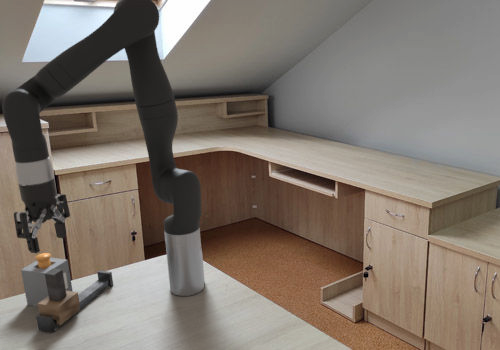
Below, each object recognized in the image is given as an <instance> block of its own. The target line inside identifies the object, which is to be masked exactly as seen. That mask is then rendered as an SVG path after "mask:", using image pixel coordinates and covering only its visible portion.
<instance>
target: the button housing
mask: <svg viewBox="0 0 500 350" xmlns="http://www.w3.org/2000/svg"><path fill="white" fill-rule="evenodd" d="M50 262H51V266H49V267H48V268H46V269H42V268H39V267H38V261H37V260H35V261H33V262H31V263H30V264H29V265H27V266H25V267H23V268H21V269H20V273H21V277H22V284H23V289H24V293H25V298H26V304H27V306H32V307H33V306H34V307H38V303H39V302H41V301H42V300H44V299H45V298H46V297H48V296H49V295H48V290H47V284H46V279H45V273H46V272H48V271H50V270H51V269H53V268H54V269H62V270H63V276H64V282H65V288H66V291H72V292H74V291H73V286H72V279H71V273H70V266H69V261H68V259H66V258H65V259H64V258H56V257H50Z"/></svg>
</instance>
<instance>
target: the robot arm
mask: <svg viewBox="0 0 500 350" xmlns="http://www.w3.org/2000/svg"><path fill="white" fill-rule="evenodd" d="M159 23H160V12H159V9H158V7H157V4H156V3H155V2H154V1H153V0H118V1H117V3H116V4H115V6H114V8H113V13H112V14H111V15H110V16H109V17H108V18H107V19H106V20H105V21H104V22H103V23H102V24H101V25H100V26H99V27H97V29H95V30H94V31H92V32H91V33H90V34H88V35H87V36H86V37H84V38H83V39H81V40H79V41H77V42H76V43H74V44H73V45H71V46H70V47H68V48H67V49H65V50H63V51H62V52H61V53H59V54H58V55H57V56H55V57H54V58H52V59H51V61H49V62H48V63H47V64H45V65H44V66H43V67H42V68H40V69H39V70H38V71H37V73H36V74H35V75H34V76H32V77H31V78H29V79H28V80H26V81H25V82H23V83H22V84H21V85H19V86H18V87H16V88H15V89H14V90H12V91H10V92H8V93H7V94H6V95H5V97H4V98H3V99H2V104H1V105H2V107H1V108H2V109H1V110H2V115H3V118H4V122H5V125H6V128H7V132H8V134H9V137H10V140H11V146H12V152H13V157H14V162H15V173H16V177H17V179H16V180H17V183H18V184H17V185H18V189H19V194H20V197H21V198H20V200H21V201H22V202H23V204H24V205H25V206H24V207H25V208H24V210H23V211H15V212H14V213H13V220H14V226H15V233H16V237H17V239H22V240H23V239H25V240H26V244H27V249H28V250H27V251H28V252H30V253H32V254H38V253H40V252H41V250H40V244H39V240H38V237H37V234H38V231H39V229H41V228H42V225H43V224H44V223H45V222H47V221H51V220H52V221H53V222H54V224H53V225H54V230H55V235H56V238H58V239H65V238H66V237H67V236H66V234H67V231H66V225H65V222H66V220H67V219H68V218H70V217H71V213H70V209H69V203H68V199H67V196H66V194H63V193H62V194H61V193H58V191H57V186H56V181H55V175H54V169H53V165H52V162H51V161H52V160H51V159H50V154H49V153H50V152H49V149H48V148H49V147H48V142H47V139H46V136H45V134H44V133H43V128H42V122H41V121H42V120H41V117H40V113H42V112H43V111H44V110H45V109H46V108H47V107H49V106H50V105H51V104H52V103H53V102H54V101H55V100H57V99H58V98H61V97H63V96H64V95H65V94H67V93H68V92H70V91H71V90H72V89H74V88H75V87H76V86H78V85H79V83H81V82H82V81H84V80H85V79H86V78H87V77H88V76H89V75H91V74H92V73H93V72H94V71H95V70H96V69H98V68H99V67H101V66H102V65H103V64H104V63H105V62H107V61H109V59H111V58H112V57H114V56H115V55H116V54H118V53H119V52H121V51H123V50H124V51H125V55H126V58H127V62H128V66H129V73H130V80H131V81H130V82H131V86H132V92H133V97H134V102H135V106H136V111H137V115H138V119H139V121H140V125H141V128H142V132H143V137H144V141H145V147H146V150H147V155H148V161H149V167H150V176H151V183H152V188H153V192H154V194H155V195H156V197H157V198H158V200H160V201H161V202H164V203H167V204H170V205H172V207H173V208H172V209H173V213H172V214H171V215H168V216H167V217H165V219H164V220H163V231H164V232H163V233H164V242H165V248H166V249H165V251H166V259H167V269H168V280H169V290H170V292H171V293H172V294H173V295H176V296H180V297H186V296H187V297H188V296H194V295H197V294H198V293H201V292H202V291H203V290H204V288H205V270H204V259H203V258H204V257H203V251H202V243H201V242H202V240H201V228H200V227H201V226H200V220H201V218H202V188H201V182H200V179H199V177H198V175H197V174H196V173H195V172H193V171H191V170H187V169H182V168H178V167H177V164H176V161H175V156H174V153H173V142H174V137H175V135H176V131H177V127H178V123H179V122H178V121H179V115H178V114H179V113H178V109H177V105H176V100H175V96H174V91H173V88H172V86H171V82H170V80H169V77H168V74H167V72H166V70H165V68H164V66H163V64H162V61H161V58H160V54H159V51H158V46H157V44H158V43H157V40H156V32H155V31H156V30H157V29H158V26H159ZM32 222H33V223H32Z"/></svg>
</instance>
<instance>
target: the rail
mask: <svg viewBox="0 0 500 350" xmlns="http://www.w3.org/2000/svg"><path fill="white" fill-rule="evenodd" d="M112 273H113V272H112V271H107V270H98V271H97V272H96V274H97V280H96V281H95V282H92V284H90V285H89V286H88V287H86V288H85V289H84V290H83V291H81V292H80V293H78V297H79V303H80V306H79V309H80V310H79V311H81V310H82V309H83V308H84V307H86V306H87V305H88V304H90V302H92V301H93V300H95V298H97V297H98V296H100V295H101V294H102V293H103V292H104V291H106V290H107V289H108V288H110V287H113V286H114V280H113V274H112ZM76 313H78V312H76ZM76 313H75V314H76ZM72 317H73V316H71V317H70V318H72ZM35 318H36V319H35V320H36V325H37V329H38V330H37V331H38V332H42V333H47V334H53V333H55V332H56V330H57V329H58V328H59V327H60V326H62V325H63V324H61V325H57V320H54V319H53V316H49V315H43V314H39V313H38V314H37V315H35ZM66 321H68V320H66ZM66 321H65V322H66Z"/></svg>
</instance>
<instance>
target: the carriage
mask: <svg viewBox="0 0 500 350" xmlns="http://www.w3.org/2000/svg"><path fill="white" fill-rule="evenodd" d="M45 279H46V284H47V290H48V295H49V296H48V297H46V298H45V299H44V300H42V301H41V302H39V303H38V306H37V307H38V314H43V315H49V316H53V319H54V320H57V325H60V326H62V325H63V324H65V322H66V320H67V321H68V320H70V319H71V318H72V317H73V316H75V314H76V312H77V313H78V312H79V311H81V310H80V309H79V306H80V303H79V297H78V294H79V292H77V291H73V292H72V291H66V288H65V282H64V276H63V270H62V269H54V268H53V269H51V270H50V271H48V272H46V273H45ZM71 316H72V317H71ZM61 324H62V325H61Z"/></svg>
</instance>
